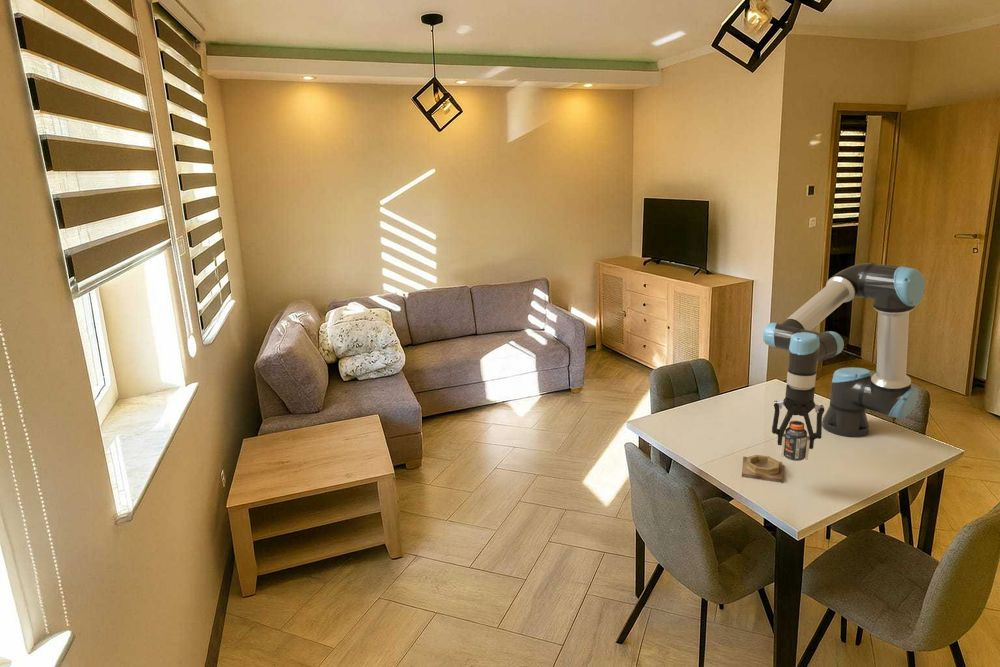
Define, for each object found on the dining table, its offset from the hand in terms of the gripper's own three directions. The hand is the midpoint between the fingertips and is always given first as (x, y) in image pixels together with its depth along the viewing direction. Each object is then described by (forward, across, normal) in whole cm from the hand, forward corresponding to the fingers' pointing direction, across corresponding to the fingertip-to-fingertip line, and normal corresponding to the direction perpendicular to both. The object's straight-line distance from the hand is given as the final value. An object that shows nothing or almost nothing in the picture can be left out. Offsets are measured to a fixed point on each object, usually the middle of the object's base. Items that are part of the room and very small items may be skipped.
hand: (794, 455), depth 184 cm
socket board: (+12, +8, -9) cm, 17 cm away
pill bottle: (+1, 0, 0) cm, 1 cm away
